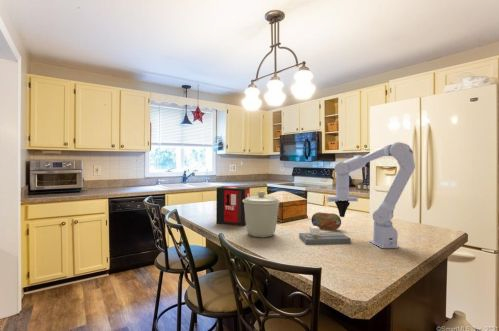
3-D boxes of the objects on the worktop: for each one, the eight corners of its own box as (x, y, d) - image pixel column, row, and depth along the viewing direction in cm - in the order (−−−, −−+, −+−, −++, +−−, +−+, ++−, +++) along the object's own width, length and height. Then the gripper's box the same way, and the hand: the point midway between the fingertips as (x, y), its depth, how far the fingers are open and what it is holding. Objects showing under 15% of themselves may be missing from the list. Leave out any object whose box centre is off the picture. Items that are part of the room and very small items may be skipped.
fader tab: (319, 236, 118) (319, 228, 118) (312, 236, 118) (313, 228, 118) (316, 234, 122) (316, 225, 122) (309, 234, 122) (309, 225, 121)
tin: (311, 227, 142) (311, 211, 142) (312, 226, 145) (312, 210, 145) (340, 231, 135) (340, 214, 135) (341, 229, 138) (341, 213, 138)
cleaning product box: (249, 222, 152) (249, 187, 152) (244, 226, 144) (244, 189, 143) (222, 220, 157) (222, 186, 157) (216, 223, 149) (216, 187, 148)
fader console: (350, 242, 117) (350, 237, 117) (306, 244, 114) (306, 238, 114) (340, 236, 127) (340, 230, 126) (299, 237, 124) (299, 231, 124)
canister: (277, 241, 117) (278, 194, 117) (238, 238, 121) (238, 192, 120) (281, 230, 135) (281, 189, 135) (246, 228, 139) (246, 188, 138)
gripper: (352, 186, 131) (352, 214, 131) (324, 187, 129) (323, 215, 129) (360, 188, 124) (359, 217, 124) (330, 188, 122) (330, 218, 122)
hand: (341, 216), depth 126 cm, fingers closed
